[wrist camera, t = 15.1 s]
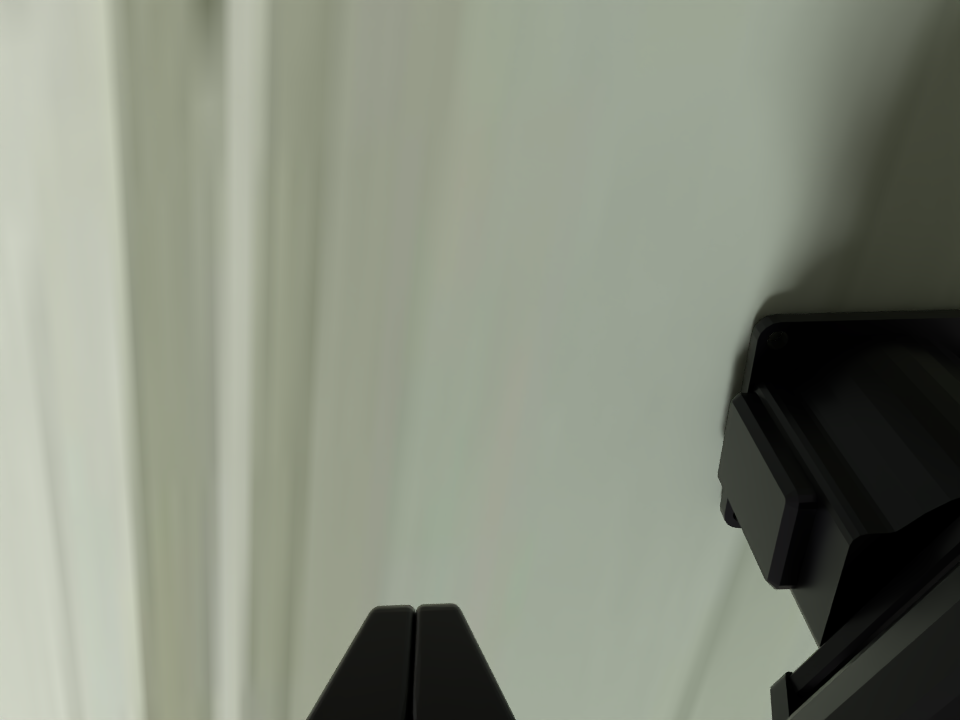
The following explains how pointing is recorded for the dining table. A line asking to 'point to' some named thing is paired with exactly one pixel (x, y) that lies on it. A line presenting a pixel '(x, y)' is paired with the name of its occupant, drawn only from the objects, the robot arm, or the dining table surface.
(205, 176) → the dining table surface
